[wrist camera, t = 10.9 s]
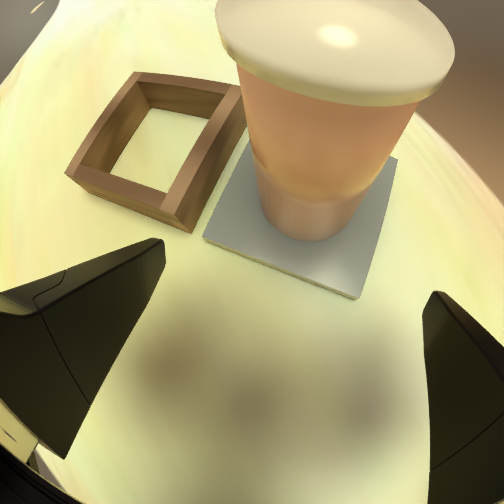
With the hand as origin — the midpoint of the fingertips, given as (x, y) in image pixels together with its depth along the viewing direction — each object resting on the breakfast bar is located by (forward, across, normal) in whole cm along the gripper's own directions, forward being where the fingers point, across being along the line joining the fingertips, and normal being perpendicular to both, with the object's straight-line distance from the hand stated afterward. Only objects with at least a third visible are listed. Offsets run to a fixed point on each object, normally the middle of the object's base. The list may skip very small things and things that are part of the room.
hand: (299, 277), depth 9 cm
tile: (+11, 0, +2) cm, 11 cm away
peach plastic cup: (+11, 0, 0) cm, 11 cm away
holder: (+12, +11, 0) cm, 17 cm away
